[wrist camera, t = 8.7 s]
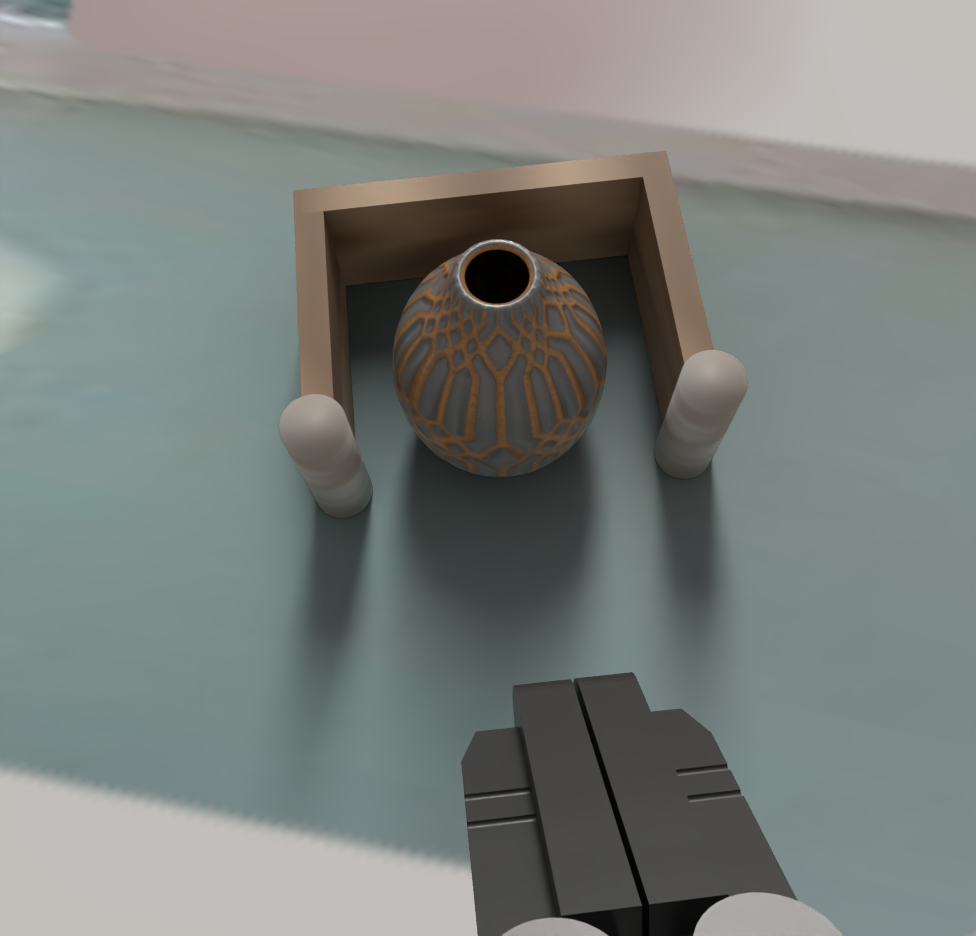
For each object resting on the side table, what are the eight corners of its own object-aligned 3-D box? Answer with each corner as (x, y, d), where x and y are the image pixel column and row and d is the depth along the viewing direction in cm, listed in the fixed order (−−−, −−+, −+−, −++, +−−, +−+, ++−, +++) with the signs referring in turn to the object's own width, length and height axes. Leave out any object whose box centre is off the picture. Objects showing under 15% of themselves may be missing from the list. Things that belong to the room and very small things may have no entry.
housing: (316, 521, 32) (279, 459, 27) (305, 268, 36) (271, 172, 31) (716, 475, 32) (755, 405, 27) (661, 229, 36) (685, 128, 31)
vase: (635, 423, 33) (676, 285, 25) (487, 541, 31) (479, 435, 23) (512, 299, 35) (512, 134, 27) (367, 403, 34) (321, 261, 25)
